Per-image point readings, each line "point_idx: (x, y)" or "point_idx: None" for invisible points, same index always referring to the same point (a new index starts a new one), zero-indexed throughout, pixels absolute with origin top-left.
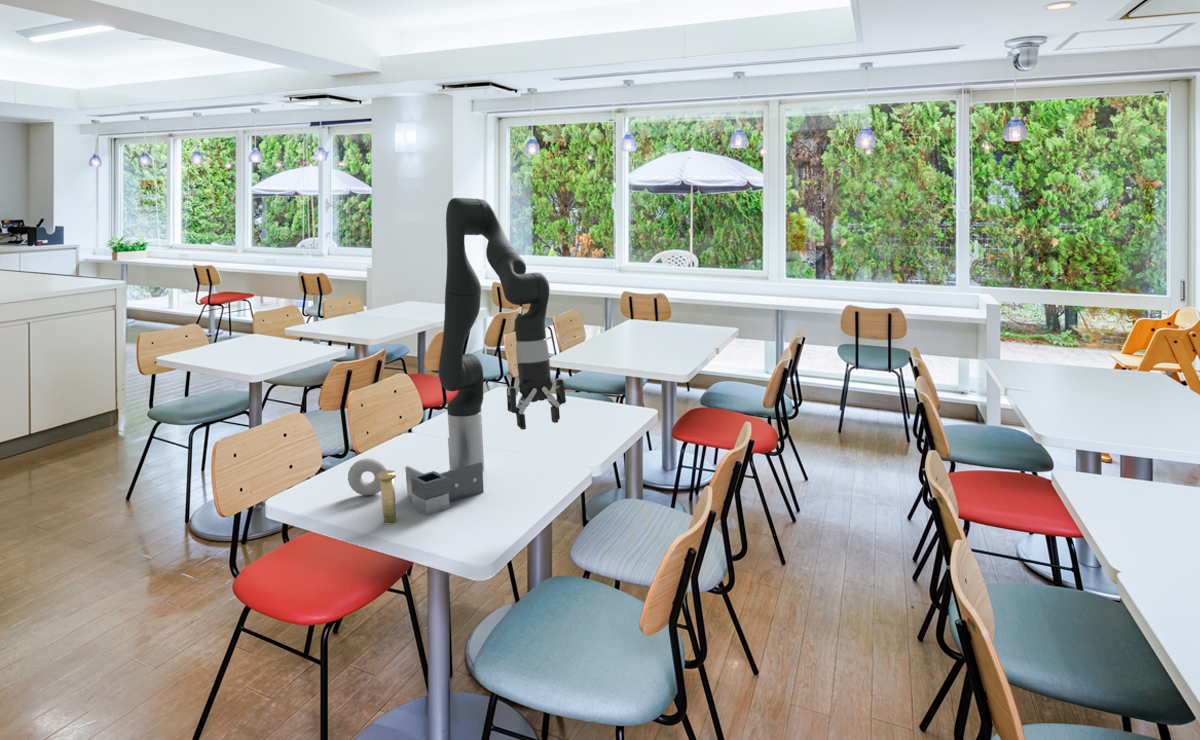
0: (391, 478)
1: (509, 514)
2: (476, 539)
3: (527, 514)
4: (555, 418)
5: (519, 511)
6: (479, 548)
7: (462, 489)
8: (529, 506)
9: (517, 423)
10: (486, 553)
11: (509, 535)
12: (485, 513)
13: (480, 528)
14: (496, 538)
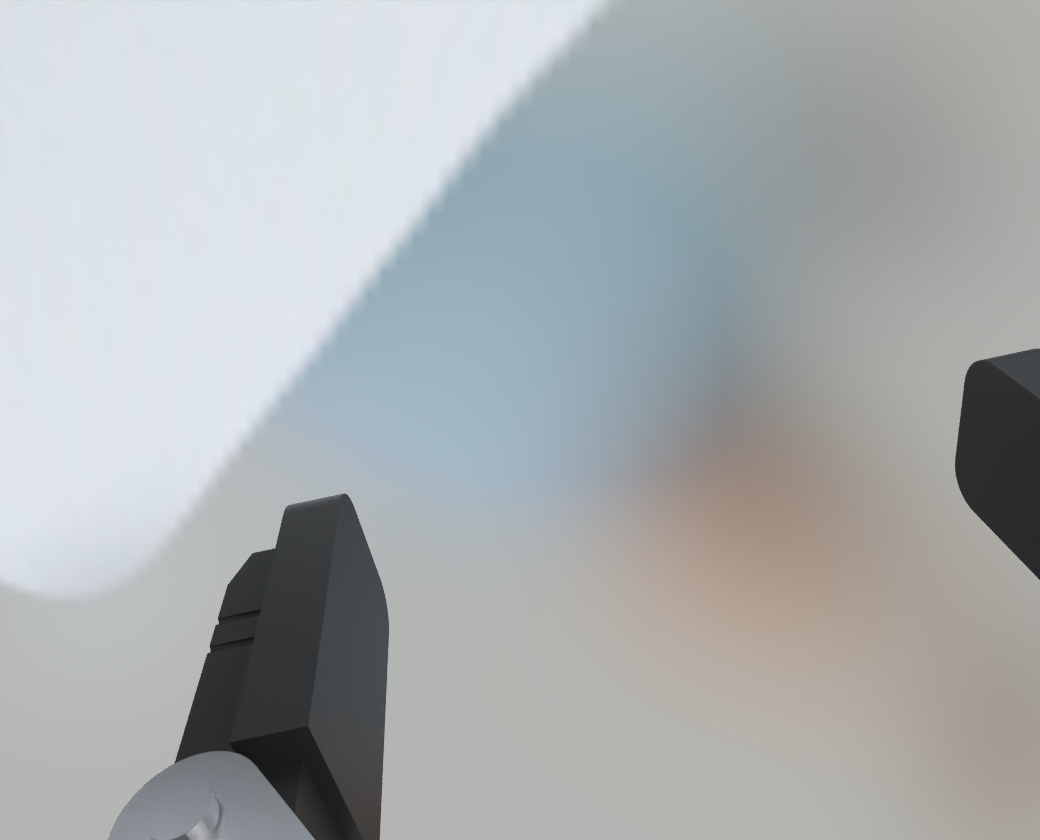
0: None
1: (239, 119)
2: (27, 409)
3: (366, 164)
4: (1006, 542)
5: (317, 90)
6: (59, 501)
7: None
8: (405, 19)
9: (229, 620)
10: (101, 550)
11: (224, 411)
12: (44, 31)
13: (34, 279)
14: (148, 425)
